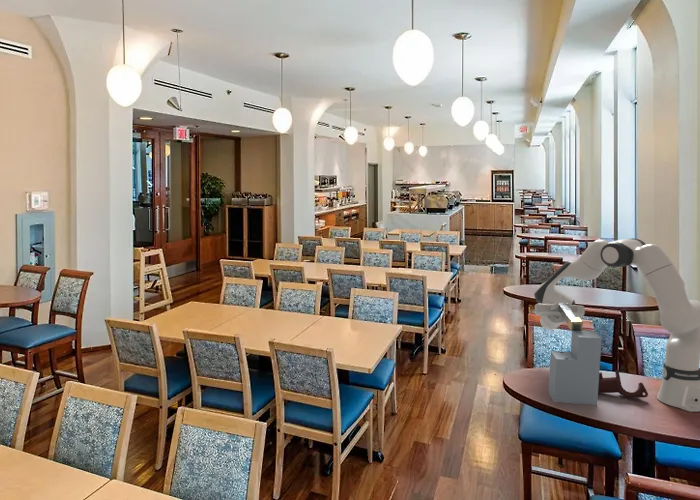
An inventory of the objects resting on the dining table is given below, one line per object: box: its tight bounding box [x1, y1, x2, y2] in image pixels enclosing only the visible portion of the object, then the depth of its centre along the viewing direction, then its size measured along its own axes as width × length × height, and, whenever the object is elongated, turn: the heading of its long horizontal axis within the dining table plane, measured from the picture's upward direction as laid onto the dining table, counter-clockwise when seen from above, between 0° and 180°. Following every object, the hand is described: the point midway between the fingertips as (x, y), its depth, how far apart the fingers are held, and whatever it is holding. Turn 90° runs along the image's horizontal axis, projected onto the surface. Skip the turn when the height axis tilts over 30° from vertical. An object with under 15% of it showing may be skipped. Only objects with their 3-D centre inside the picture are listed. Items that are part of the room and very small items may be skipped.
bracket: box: [598, 369, 649, 399], centre depth 202 cm, size 6×18×11 cm, turn 69°
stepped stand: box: [548, 329, 602, 406], centre depth 198 cm, size 16×10×26 cm, turn 80°
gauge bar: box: [557, 303, 584, 332], centre depth 209 cm, size 4×20×4 cm, turn 175°
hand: (562, 305), depth 216 cm, fingers closed on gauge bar, 3 cm apart
